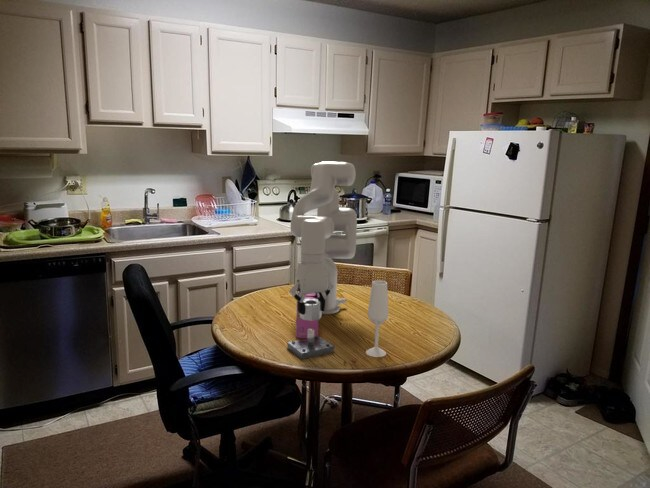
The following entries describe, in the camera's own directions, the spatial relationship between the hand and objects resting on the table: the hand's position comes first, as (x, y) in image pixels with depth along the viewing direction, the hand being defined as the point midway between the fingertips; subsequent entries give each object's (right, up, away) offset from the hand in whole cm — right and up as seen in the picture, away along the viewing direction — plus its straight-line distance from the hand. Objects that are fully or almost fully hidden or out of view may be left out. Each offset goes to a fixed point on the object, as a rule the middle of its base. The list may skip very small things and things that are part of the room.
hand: (311, 311), depth 155 cm
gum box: (-2, -9, +24) cm, 26 cm away
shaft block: (0, -13, +3) cm, 13 cm away
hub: (0, -2, +1) cm, 2 cm away
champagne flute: (+21, -14, +2) cm, 26 cm away
